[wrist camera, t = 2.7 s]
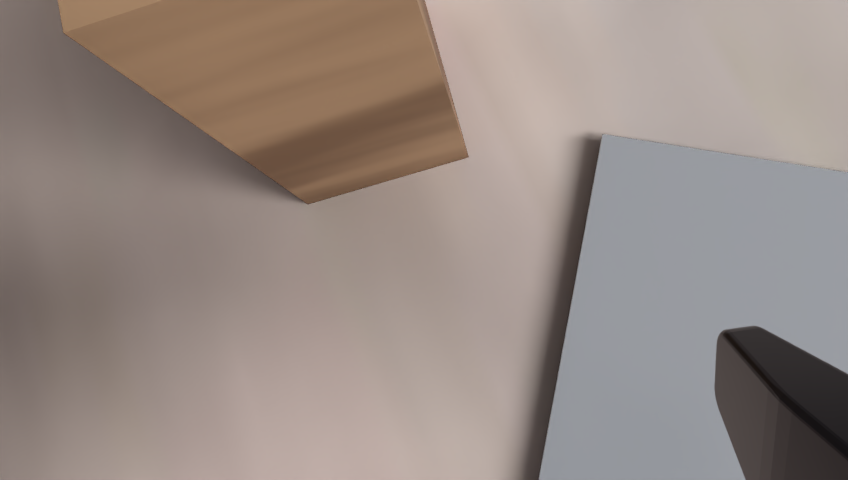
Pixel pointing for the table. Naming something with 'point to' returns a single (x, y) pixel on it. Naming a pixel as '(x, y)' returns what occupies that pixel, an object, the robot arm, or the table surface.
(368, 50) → the walnut block
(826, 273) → the coaster
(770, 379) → the robot arm
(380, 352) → the table surface
